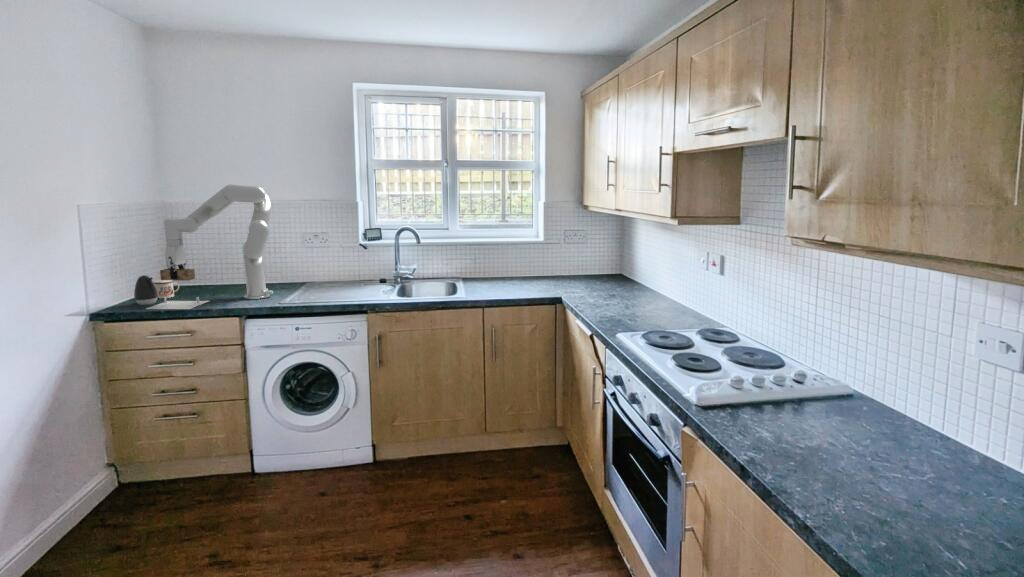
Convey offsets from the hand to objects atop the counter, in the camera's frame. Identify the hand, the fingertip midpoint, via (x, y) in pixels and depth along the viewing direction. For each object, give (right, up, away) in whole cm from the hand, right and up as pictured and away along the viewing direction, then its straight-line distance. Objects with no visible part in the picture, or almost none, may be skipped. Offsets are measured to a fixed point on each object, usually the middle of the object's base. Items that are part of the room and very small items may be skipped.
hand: (178, 277), depth 284 cm
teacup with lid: (-18, -10, +20) cm, 29 cm away
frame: (0, -1, 0) cm, 1 cm away
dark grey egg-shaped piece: (-17, -14, +2) cm, 22 cm away
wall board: (+1, -15, -2) cm, 15 cm away
